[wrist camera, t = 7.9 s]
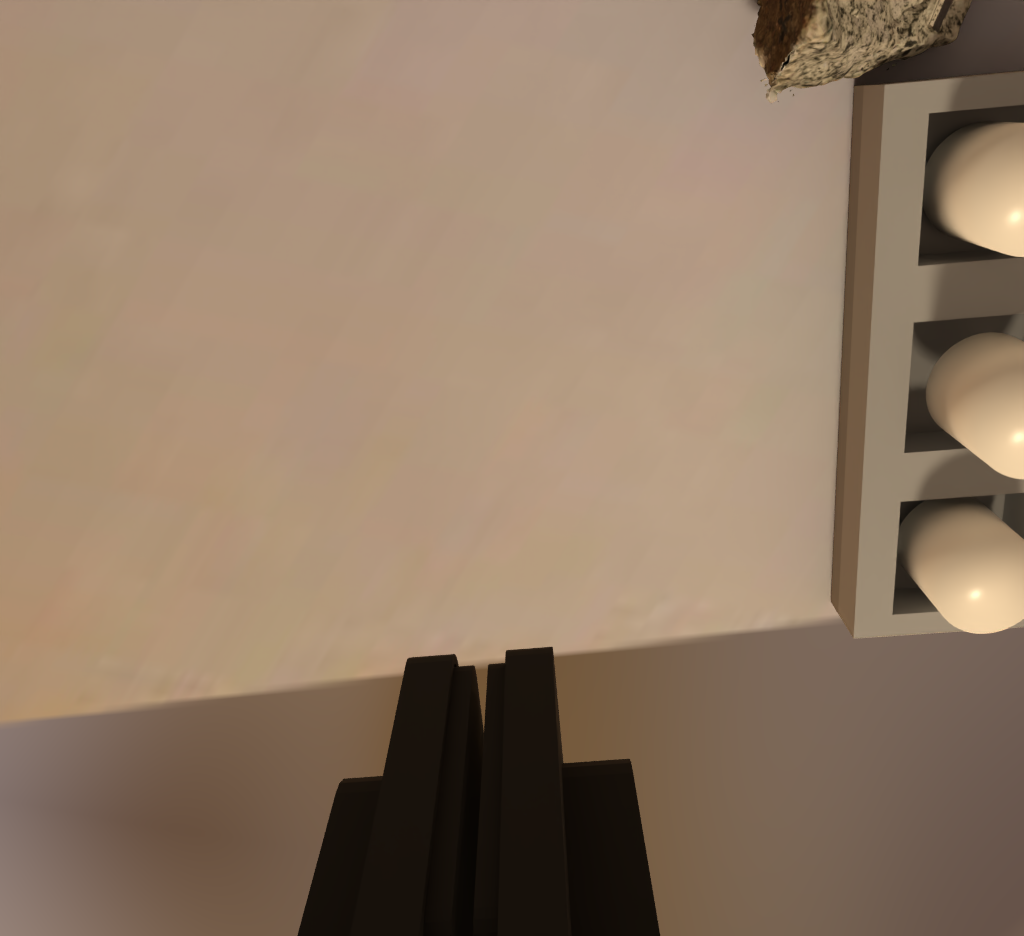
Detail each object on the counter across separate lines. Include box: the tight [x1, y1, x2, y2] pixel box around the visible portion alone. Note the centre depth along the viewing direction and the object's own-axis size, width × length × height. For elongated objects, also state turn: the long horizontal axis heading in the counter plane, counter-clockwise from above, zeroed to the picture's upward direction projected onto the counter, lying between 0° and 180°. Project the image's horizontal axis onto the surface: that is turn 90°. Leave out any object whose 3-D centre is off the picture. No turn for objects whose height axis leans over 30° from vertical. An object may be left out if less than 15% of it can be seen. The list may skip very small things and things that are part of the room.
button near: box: [922, 121, 1024, 257], centre depth 31 cm, size 4×4×4 cm
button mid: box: [926, 332, 1024, 479], centre depth 32 cm, size 4×4×4 cm
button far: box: [897, 497, 1024, 634], centre depth 36 cm, size 4×4×4 cm
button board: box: [831, 70, 1024, 639], centre depth 35 cm, size 21×8×3 cm, turn 5°
